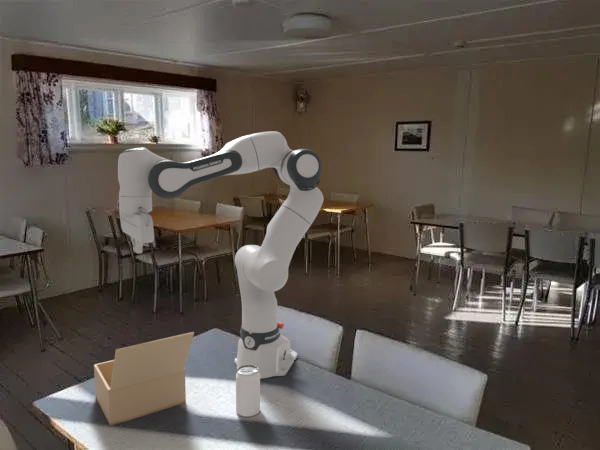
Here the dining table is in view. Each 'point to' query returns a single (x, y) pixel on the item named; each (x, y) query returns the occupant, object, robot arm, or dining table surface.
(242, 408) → the can
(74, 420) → the dining table surface
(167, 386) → the carton
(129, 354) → the carton flap
